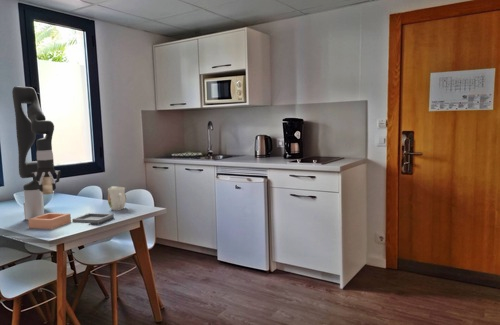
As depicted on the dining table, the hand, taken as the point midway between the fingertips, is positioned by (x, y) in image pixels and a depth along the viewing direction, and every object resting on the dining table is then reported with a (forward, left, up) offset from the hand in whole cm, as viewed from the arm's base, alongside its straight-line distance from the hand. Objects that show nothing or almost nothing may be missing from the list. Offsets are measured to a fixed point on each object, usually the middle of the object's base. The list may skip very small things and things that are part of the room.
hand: (47, 190), depth 197 cm
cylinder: (0, 0, -1) cm, 1 cm away
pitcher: (+13, +42, -19) cm, 48 cm away
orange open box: (0, 0, -19) cm, 19 cm away
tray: (+16, +14, -19) cm, 29 cm away
